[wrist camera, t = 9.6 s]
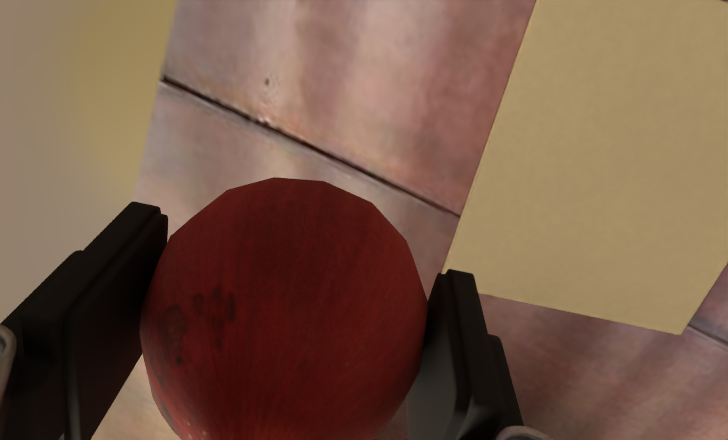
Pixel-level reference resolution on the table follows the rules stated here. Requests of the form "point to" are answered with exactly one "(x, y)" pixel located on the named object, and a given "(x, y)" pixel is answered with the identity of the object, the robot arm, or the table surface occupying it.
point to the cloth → (607, 164)
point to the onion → (283, 317)
